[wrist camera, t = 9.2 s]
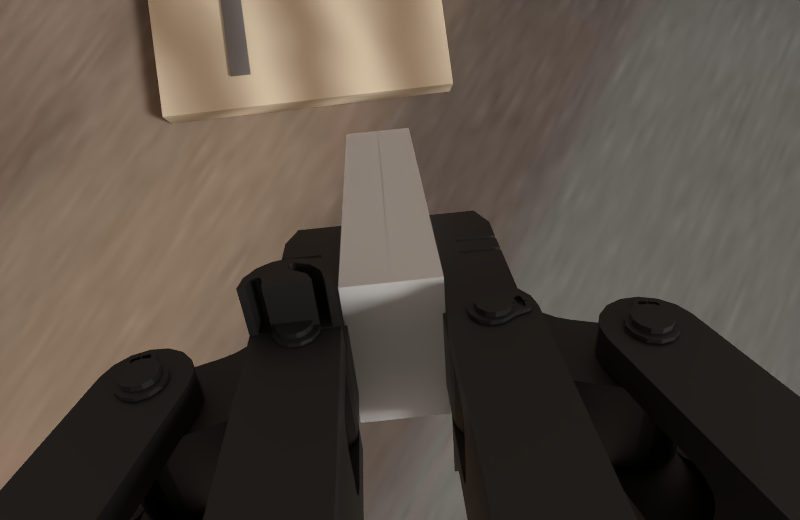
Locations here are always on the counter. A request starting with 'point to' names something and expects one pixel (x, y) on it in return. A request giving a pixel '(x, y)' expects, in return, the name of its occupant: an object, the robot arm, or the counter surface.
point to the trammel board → (294, 54)
